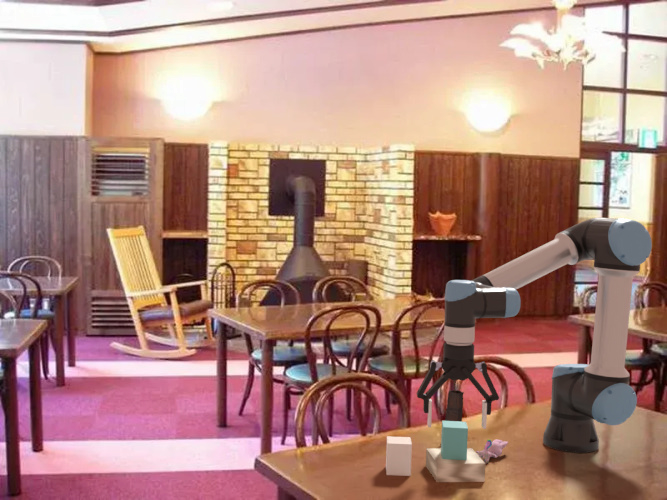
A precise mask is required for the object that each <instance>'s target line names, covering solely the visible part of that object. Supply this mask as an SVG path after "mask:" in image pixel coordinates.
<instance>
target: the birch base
mask: <svg viewBox="0 0 667 500" xmlns="http://www.w3.org/2000/svg"><path fill="white" fill-rule="evenodd" d="M477 454H478V453H476V451H475V450H474V449H473V448H472V447H467V460H452V459H442V455H441V447H439V448H435V447H432V448H426V451H425V467H426V468H427V470H428V471H429V473H430V475H431V474H432V475H431V476H432V478H433V477H434V478H433V479H434V480H436V481H435V482H436V483H469V482H470V483H475V482H476V483H477V482H478V483H480V482H481V483H482V482H483V483H484V482H486V481H485V480H486V463H485V462H484V461H483V460H482V459H481V458H480V457H479V456H478V455H477Z"/></svg>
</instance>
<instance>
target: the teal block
mask: <svg viewBox="0 0 667 500" xmlns="http://www.w3.org/2000/svg"><path fill="white" fill-rule="evenodd" d="M468 433H469V427H468V423H467V421H462V422H460V421H445V420H441V434H440V435H441V437H440V439H441V440H440V441H441V442H440V444H441V445H440V448H441V455H442V459H452V460H467V448H468V437H469V436H468Z"/></svg>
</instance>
